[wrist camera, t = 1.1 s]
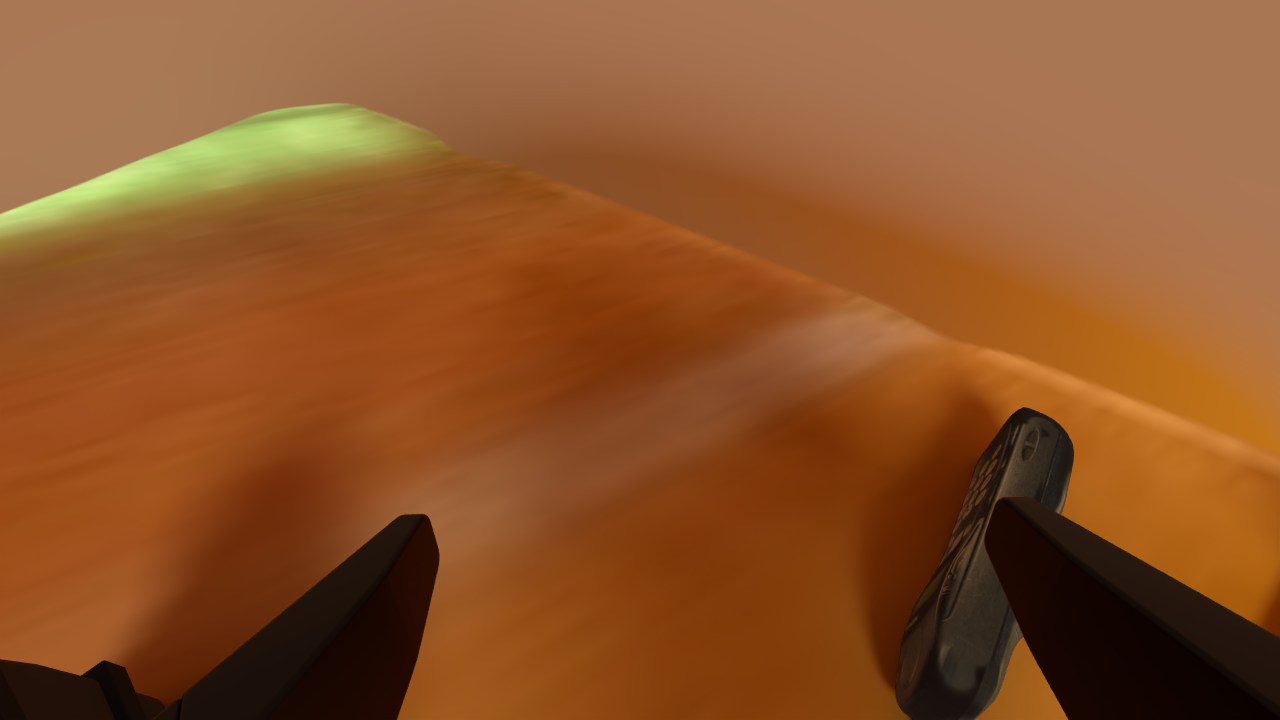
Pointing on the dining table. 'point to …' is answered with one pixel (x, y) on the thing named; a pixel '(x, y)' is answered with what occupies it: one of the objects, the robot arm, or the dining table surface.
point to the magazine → (71, 694)
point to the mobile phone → (978, 579)
